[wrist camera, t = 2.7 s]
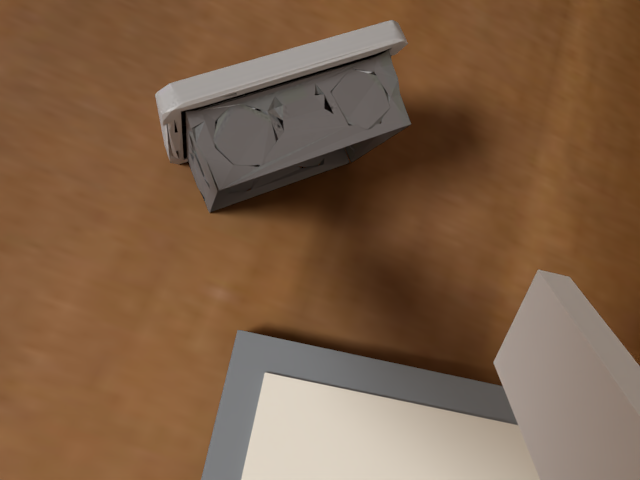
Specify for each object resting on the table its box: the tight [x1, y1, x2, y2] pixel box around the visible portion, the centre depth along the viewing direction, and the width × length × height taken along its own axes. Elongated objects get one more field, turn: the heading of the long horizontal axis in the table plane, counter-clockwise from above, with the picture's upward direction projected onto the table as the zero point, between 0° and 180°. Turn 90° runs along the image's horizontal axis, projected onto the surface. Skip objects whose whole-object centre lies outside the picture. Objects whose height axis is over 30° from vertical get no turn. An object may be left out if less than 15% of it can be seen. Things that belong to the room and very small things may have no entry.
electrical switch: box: [155, 20, 411, 213], centre depth 22 cm, size 9×5×9 cm, turn 114°
